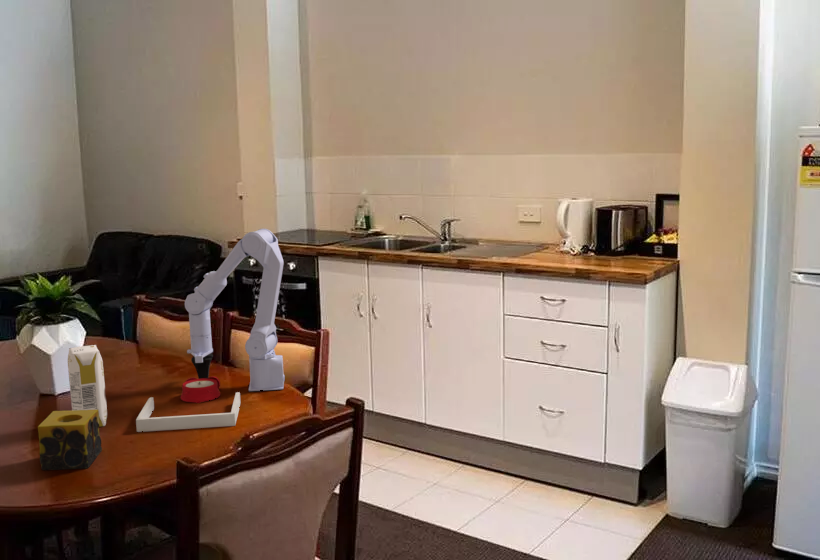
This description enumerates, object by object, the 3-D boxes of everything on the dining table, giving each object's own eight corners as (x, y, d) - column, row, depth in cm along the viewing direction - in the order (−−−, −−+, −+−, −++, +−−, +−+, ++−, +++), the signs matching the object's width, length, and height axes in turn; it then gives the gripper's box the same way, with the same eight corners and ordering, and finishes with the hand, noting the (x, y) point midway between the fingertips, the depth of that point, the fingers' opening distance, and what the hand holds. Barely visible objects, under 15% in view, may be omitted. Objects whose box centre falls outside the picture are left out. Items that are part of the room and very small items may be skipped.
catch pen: (240, 403, 211) (239, 392, 211) (235, 425, 194) (234, 413, 194) (150, 408, 208) (149, 397, 208) (136, 431, 191) (135, 419, 191)
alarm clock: (176, 392, 210) (183, 365, 224) (178, 413, 212) (185, 385, 226) (217, 390, 211) (221, 363, 225) (219, 410, 214) (223, 383, 228)
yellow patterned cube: (56, 453, 179) (52, 410, 177) (103, 451, 180) (99, 408, 178) (39, 471, 169) (34, 426, 167) (89, 469, 170) (84, 424, 168)
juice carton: (75, 432, 192) (68, 355, 189) (72, 421, 199) (65, 347, 196) (109, 426, 195) (102, 350, 192) (104, 416, 203) (98, 343, 200)
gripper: (189, 329, 232) (192, 374, 235) (182, 341, 218) (185, 389, 220) (214, 328, 233) (217, 373, 235) (208, 339, 219) (212, 387, 221)
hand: (203, 381), depth 228 cm, fingers closed
